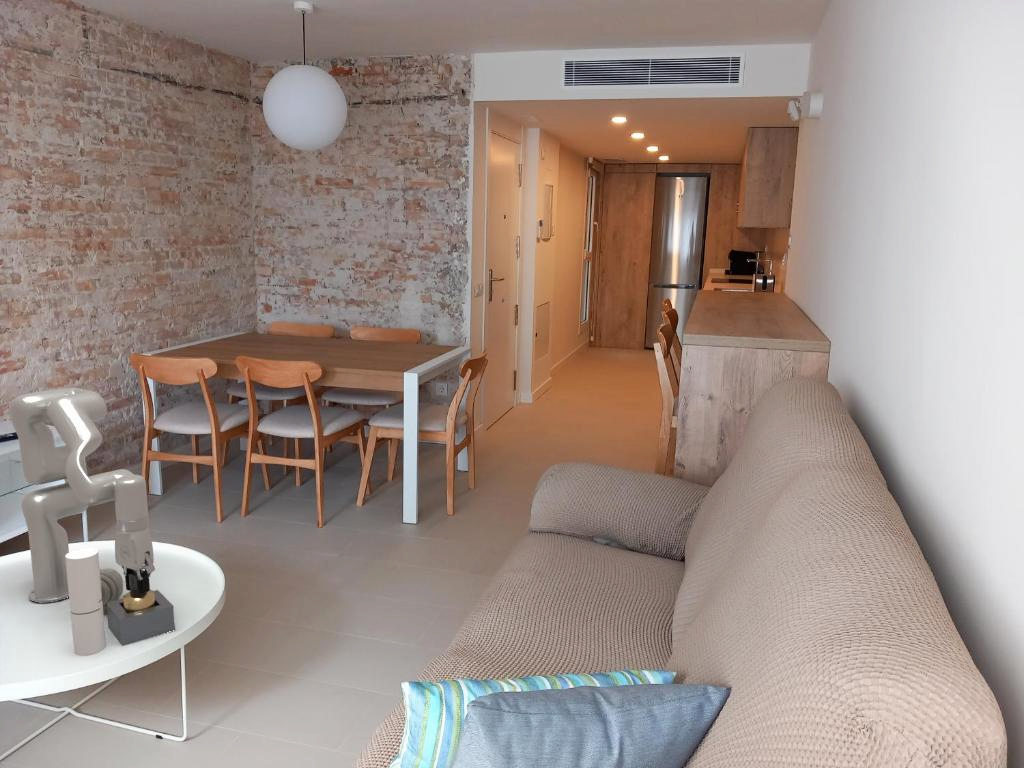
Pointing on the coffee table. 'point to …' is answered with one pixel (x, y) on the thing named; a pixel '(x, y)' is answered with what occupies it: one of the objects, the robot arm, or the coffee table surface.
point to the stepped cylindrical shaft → (137, 596)
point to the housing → (140, 620)
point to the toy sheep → (110, 586)
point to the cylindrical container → (85, 601)
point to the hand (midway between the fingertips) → (138, 589)
